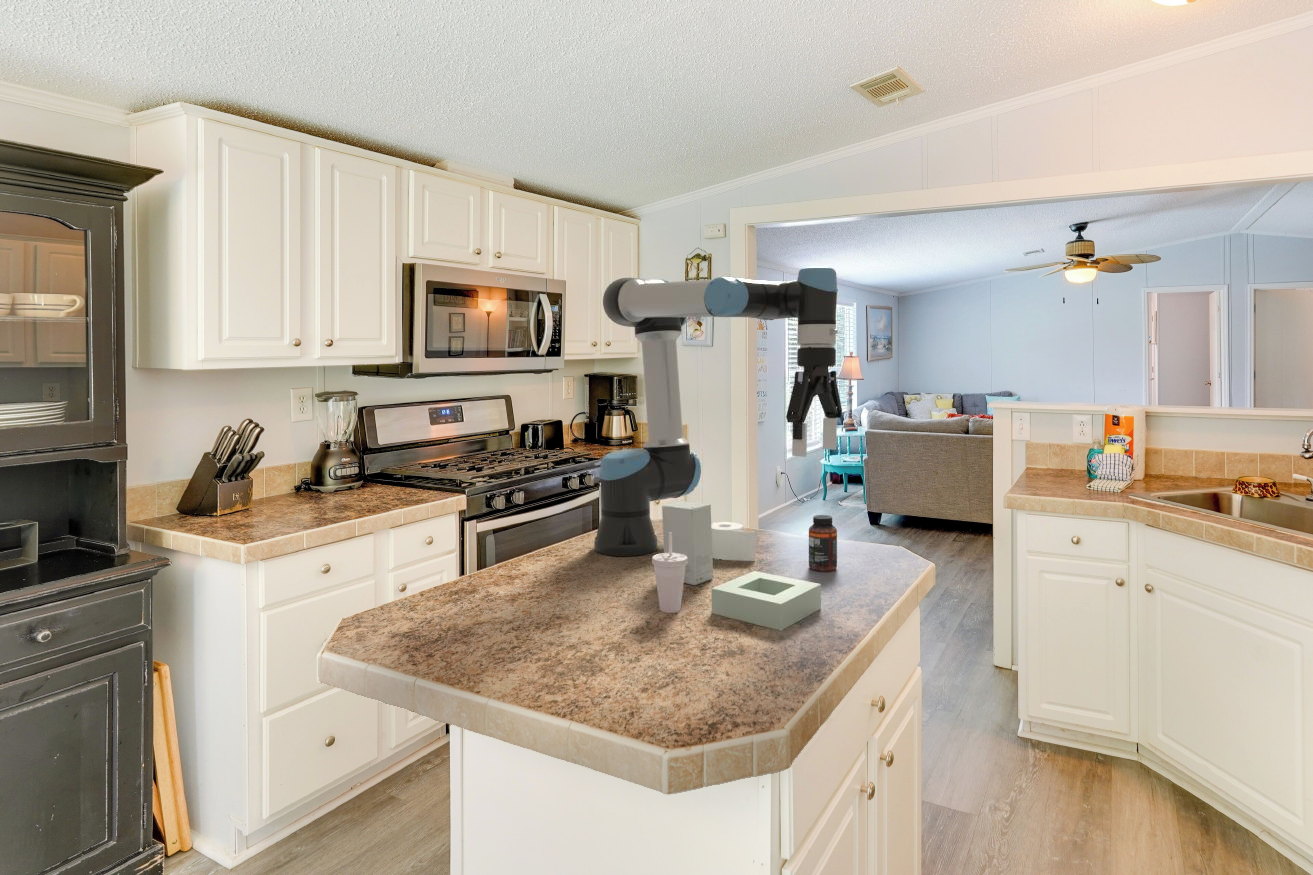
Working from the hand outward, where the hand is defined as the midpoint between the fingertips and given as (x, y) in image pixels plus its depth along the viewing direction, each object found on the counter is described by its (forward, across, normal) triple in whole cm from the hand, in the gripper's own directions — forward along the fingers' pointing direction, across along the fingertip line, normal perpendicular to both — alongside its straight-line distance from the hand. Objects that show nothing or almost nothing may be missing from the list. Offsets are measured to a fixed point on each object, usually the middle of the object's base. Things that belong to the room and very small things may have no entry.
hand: (814, 452), depth 150 cm
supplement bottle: (+26, +7, +1) cm, 27 cm away
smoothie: (+26, -34, +12) cm, 44 cm away
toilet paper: (+26, +4, +22) cm, 35 cm away
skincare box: (+26, -16, +20) cm, 37 cm away
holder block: (+26, -24, -3) cm, 35 cm away
